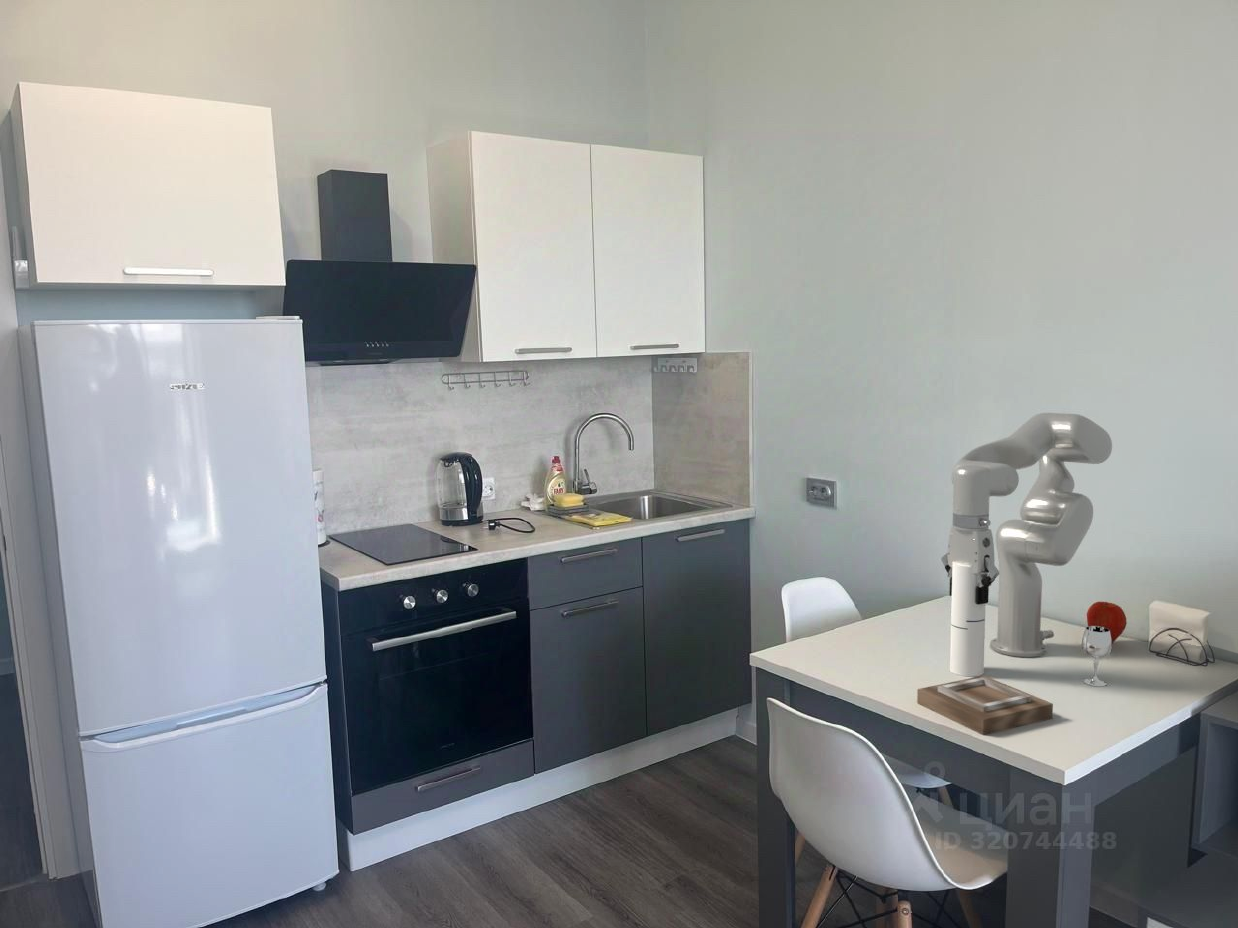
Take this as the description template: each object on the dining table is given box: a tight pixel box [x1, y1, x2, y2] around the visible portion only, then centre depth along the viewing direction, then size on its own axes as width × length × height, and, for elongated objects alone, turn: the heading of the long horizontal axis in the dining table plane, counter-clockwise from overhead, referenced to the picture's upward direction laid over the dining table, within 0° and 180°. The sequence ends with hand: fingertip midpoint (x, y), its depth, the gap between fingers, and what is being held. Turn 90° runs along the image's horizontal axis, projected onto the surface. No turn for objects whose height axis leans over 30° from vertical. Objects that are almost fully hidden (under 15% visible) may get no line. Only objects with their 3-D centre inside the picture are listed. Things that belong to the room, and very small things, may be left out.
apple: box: [1086, 601, 1128, 644], centre depth 228 cm, size 9×8×11 cm
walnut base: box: [916, 675, 1054, 736], centre depth 189 cm, size 18×18×4 cm
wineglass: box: [1081, 625, 1113, 687], centre depth 202 cm, size 6×6×12 cm
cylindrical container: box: [949, 562, 987, 678], centre depth 210 cm, size 7×7×25 cm
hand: (968, 598), depth 210 cm, fingers closed on cylindrical container, 7 cm apart
